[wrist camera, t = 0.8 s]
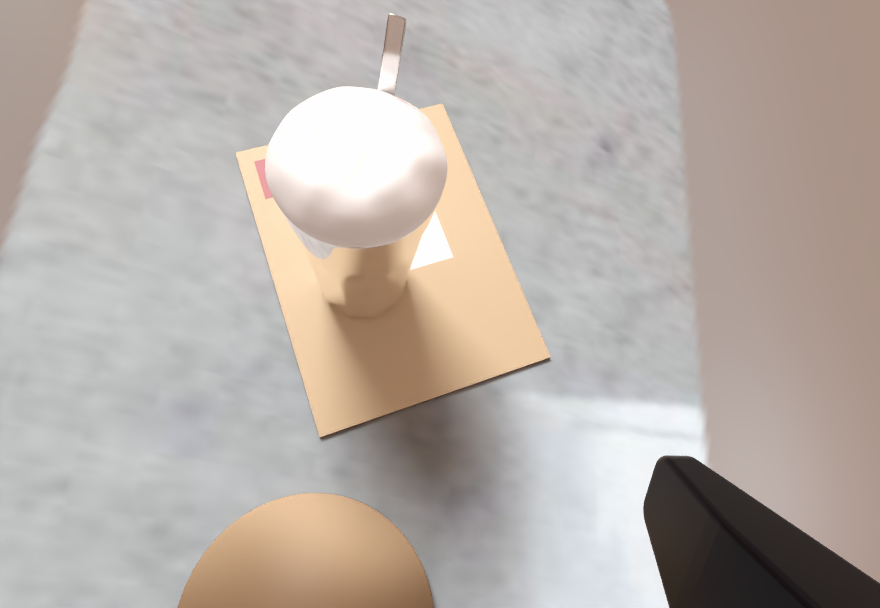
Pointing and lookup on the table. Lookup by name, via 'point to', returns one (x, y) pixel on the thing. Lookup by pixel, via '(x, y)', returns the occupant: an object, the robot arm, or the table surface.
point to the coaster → (309, 559)
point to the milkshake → (359, 185)
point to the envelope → (403, 306)
